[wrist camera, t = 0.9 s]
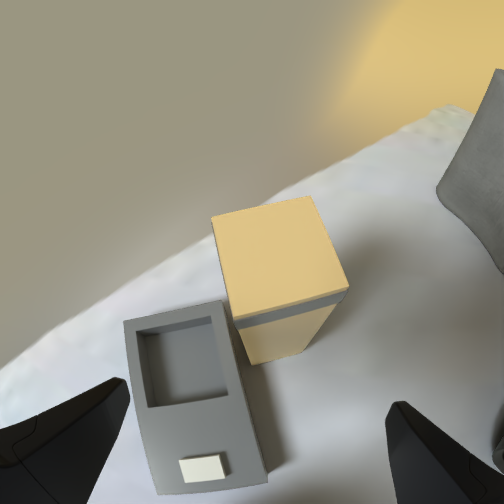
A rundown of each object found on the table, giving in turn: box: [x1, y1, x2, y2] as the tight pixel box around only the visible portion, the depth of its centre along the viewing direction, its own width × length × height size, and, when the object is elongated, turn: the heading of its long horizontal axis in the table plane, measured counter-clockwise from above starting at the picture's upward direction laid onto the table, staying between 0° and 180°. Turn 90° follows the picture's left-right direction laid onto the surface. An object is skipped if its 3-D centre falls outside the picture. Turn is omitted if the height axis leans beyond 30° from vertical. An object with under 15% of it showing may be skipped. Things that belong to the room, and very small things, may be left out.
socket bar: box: [123, 300, 268, 495], centre depth 19 cm, size 14×8×3 cm, turn 14°
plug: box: [211, 196, 349, 366], centre depth 16 cm, size 4×4×14 cm
